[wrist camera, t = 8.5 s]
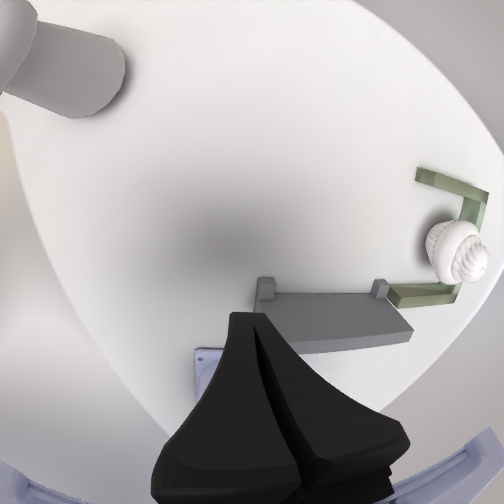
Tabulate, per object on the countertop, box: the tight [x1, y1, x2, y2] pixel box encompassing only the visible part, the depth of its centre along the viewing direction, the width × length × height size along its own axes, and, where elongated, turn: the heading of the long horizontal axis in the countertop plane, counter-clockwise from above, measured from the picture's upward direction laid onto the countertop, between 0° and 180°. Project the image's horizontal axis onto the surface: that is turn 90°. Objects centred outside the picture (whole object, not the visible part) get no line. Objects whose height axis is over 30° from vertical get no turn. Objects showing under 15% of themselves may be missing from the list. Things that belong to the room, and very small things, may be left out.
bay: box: [386, 168, 489, 309], centre depth 21 cm, size 12×9×2 cm
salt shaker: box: [0, 0, 126, 119], centre depth 8 cm, size 6×6×13 cm
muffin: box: [425, 220, 489, 285], centre depth 19 cm, size 6×6×7 cm
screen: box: [254, 278, 414, 354], centre depth 21 cm, size 4×12×6 cm, turn 84°
